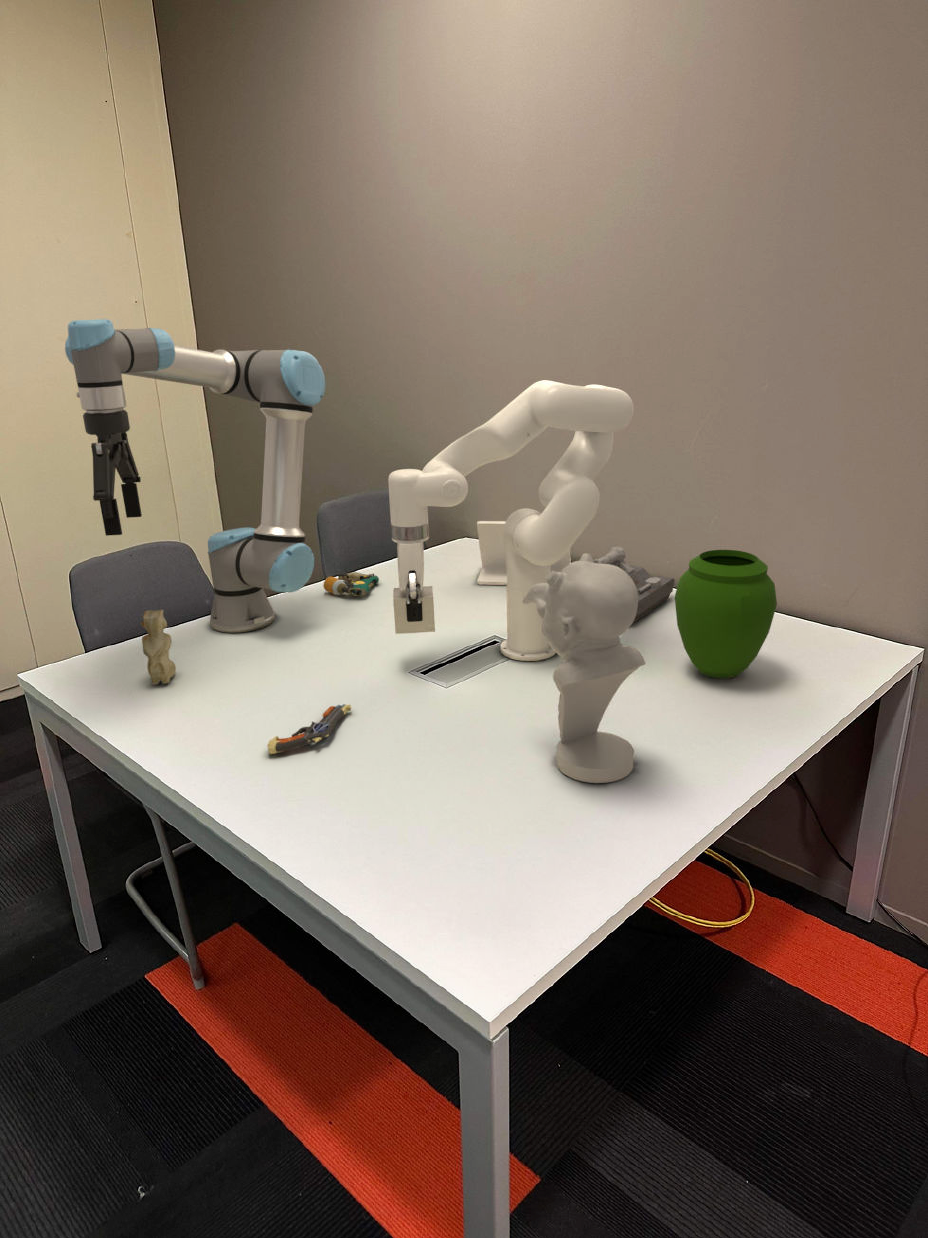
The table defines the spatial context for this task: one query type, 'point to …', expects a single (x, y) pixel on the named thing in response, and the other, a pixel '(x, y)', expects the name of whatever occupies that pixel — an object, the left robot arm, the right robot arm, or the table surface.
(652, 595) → the toy
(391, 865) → the table surface
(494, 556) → the tablet stand
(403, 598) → the block
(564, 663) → the bust sculpture
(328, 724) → the toy gun
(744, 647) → the vase
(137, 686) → the table surface
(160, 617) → the sculpture
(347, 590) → the spray gun
